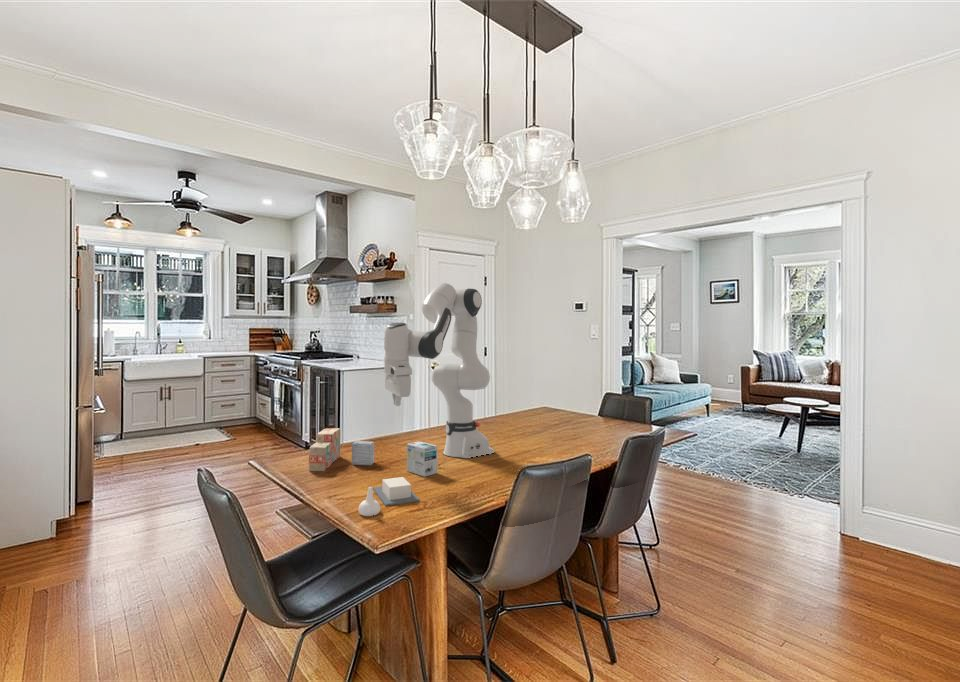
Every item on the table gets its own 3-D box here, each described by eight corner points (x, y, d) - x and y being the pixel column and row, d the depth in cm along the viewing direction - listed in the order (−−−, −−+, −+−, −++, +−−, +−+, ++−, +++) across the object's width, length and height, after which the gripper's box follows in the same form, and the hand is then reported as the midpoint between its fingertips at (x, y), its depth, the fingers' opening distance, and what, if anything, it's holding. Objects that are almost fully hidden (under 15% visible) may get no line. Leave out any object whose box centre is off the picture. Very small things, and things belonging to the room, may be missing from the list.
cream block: (402, 476, 166) (410, 484, 158) (402, 488, 166) (410, 497, 158) (382, 479, 163) (389, 487, 155) (382, 491, 163) (389, 500, 155)
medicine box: (374, 462, 199) (374, 441, 199) (370, 465, 194) (371, 444, 194) (355, 462, 200) (355, 440, 199) (351, 465, 195) (351, 443, 195)
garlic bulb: (355, 517, 143) (354, 491, 142) (363, 508, 150) (362, 483, 149) (375, 519, 142) (375, 493, 141) (383, 509, 149) (382, 484, 148)
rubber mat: (404, 485, 171) (404, 483, 171) (419, 501, 156) (419, 499, 156) (372, 489, 167) (372, 487, 167) (385, 506, 151) (385, 504, 151)
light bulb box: (438, 473, 186) (438, 445, 185) (424, 477, 181) (424, 448, 180) (419, 467, 193) (419, 440, 192) (406, 471, 188) (406, 443, 188)
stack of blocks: (325, 471, 186) (325, 439, 186) (308, 471, 186) (308, 439, 186) (340, 456, 208) (340, 427, 207) (325, 456, 208) (325, 427, 207)
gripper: (380, 365, 186) (381, 401, 187) (396, 371, 168) (396, 411, 169) (396, 364, 189) (397, 399, 190) (413, 370, 171) (414, 409, 172)
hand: (397, 405), depth 179 cm, fingers closed
